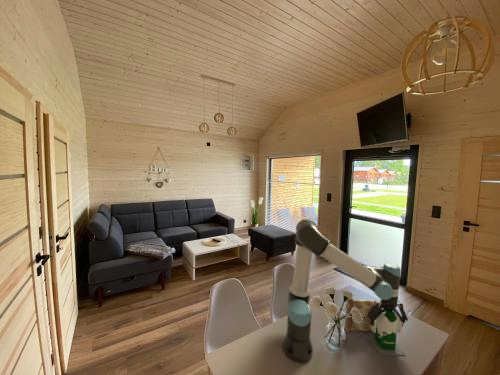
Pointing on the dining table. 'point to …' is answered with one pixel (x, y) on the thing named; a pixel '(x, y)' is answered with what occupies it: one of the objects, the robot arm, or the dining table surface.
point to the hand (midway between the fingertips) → (385, 331)
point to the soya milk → (387, 330)
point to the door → (363, 314)
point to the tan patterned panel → (348, 309)
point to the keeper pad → (384, 351)
